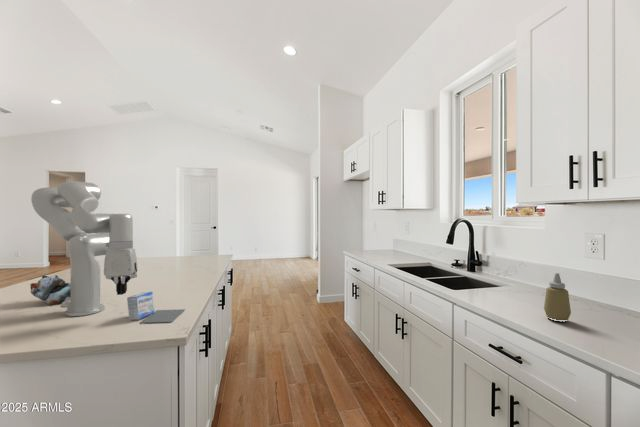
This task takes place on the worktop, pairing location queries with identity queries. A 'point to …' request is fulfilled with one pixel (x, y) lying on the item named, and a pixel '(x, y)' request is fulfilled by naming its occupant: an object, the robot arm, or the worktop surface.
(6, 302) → the worktop surface
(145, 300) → the medicine box
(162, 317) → the mat
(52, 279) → the blue crumpled lump
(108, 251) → the robot arm
